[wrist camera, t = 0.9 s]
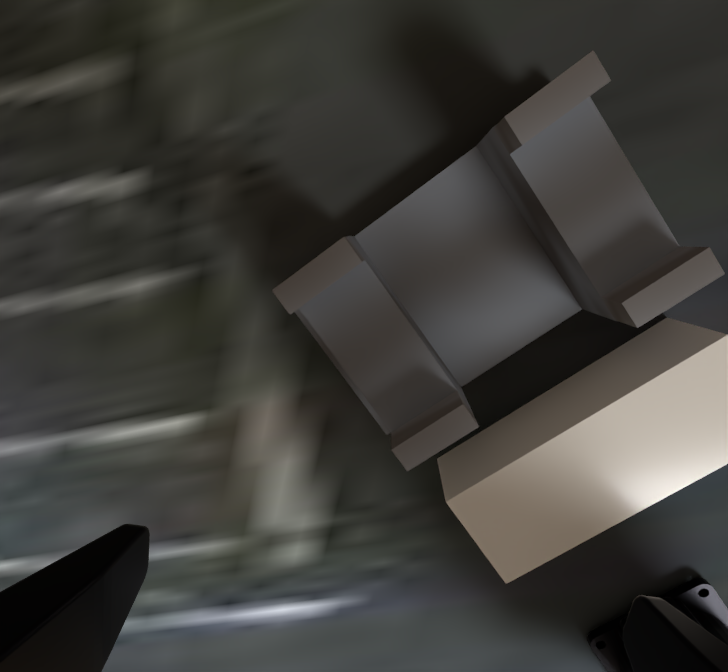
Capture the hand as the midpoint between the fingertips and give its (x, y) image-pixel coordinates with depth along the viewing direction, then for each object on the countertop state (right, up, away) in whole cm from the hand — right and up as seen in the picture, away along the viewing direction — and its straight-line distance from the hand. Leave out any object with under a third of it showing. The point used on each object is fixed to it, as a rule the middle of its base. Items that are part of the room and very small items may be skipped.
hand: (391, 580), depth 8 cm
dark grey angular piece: (+4, +7, +12) cm, 14 cm away
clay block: (+9, 0, +13) cm, 16 cm away
